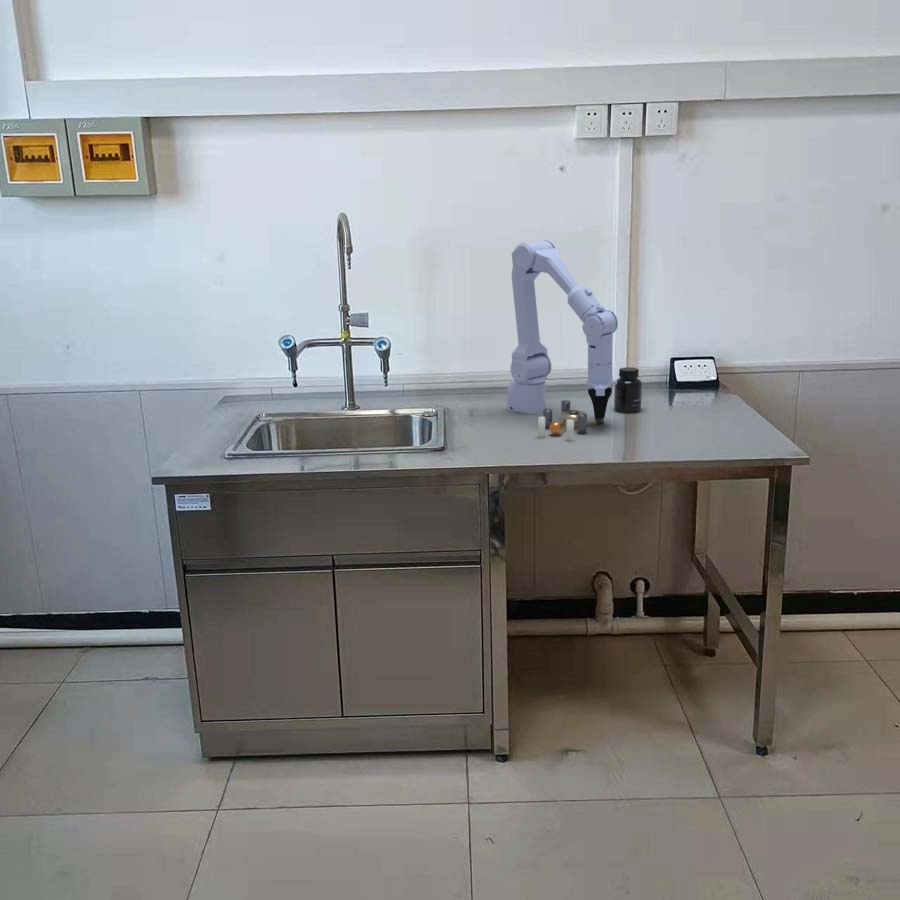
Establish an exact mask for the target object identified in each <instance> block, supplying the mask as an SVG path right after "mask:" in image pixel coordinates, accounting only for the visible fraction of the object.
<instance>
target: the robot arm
mask: <svg viewBox="0 0 900 900" xmlns="http://www.w3.org/2000/svg"><path fill="white" fill-rule="evenodd" d="M511 259H512V270H511V285H512V294H513V304H514V313H515V314H514V315H515V321H516V322H515V323H516V333H517V334H516V335H517V342H518V344H517V347H516V348H515V349H514V350H513V352H512V353H511V363H510V374H511V376H512V378H513V379H512V380H510V382H509V383H508V386H507V390H506V406H507V407H506V408H507V411H510V412H515V413H516V412H517V413H521V414H526V415H528V414H530V415H533V414H541V413H542V414H543V410H544V409H546V381H547V380H548V376H549V375H550V373H551V372H552V368H553V367H552V361H551V359H550V357H549V354H548V348H547V347H546V346H545V345H544V344H542V343H541V338H540V328H539V319H538V308H537V307H538V306H537V296H536V287H535V280H536V278H537V277H538V276H539V275H540V274H541V273H545V274H548V275H549V276H550V277H551V278H552V279H553V281H554V282H556V284H557V285H558V286H559V287H560V289H562V291H563V292H564V293H565V294H566V295H567V301H566V302H567V304H568V305H569V307H570V308H571V309H572V311H574V313H575V314H576V316H577V317H578V318H579V320H580V321H581V323H582V326H581V327H582V332H583V333H584V335H585V337H586V338H585V339H586V341H585V342H586V343H587V381H586V384H587V386H589V387H590V388H588V389H587V393H588V395H589V398H590V400H591V403H592V408H593V413H594V414H593V415H594V419H595V418H596V419H604V420H605V416H606V412H607V406H608V402H609V400H610V397H611V395H612V393H613V389H612V385H613V386H614V385H615V384H617V379H613V336H614V335H613V334H614V333H615V332H616V331H617V329H618V327H619V326H618V325H619V323H618V318H617V315H616V314H615V312H614V311H613V310H611V309H606V308H605V307H604V306H603V305H601V304H600V302H599V300H598V299H597V298H596V297H595V296H594V295H593V291H592V290H591V288H588V287H586V286H580V285H579V283H578V282H577V281H576V279H575V277H574V276H573V274H572V273H571V271H570V270H569V268H568V267H567V266H566V264H565V263H564V261H563V259H562V258H561V252H560V250H559V249H558V248H557V247H556V245H555V243H554V242H552V241H551V240H548V239H545V240H543V241H542V240H541V241H533V242H522V243H519V244H518V245H517V246H515V248H514V249H513V251H512V252H511Z"/></svg>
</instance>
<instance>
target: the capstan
mask: <svg viewBox="0 0 900 900" xmlns="http://www.w3.org/2000/svg"><path fill="white" fill-rule="evenodd" d="M560 409H561V410H560V411H561V414H560V419H561V420H560V421H561V422H559V421H553V409H552V408H545V409H544V410H543V412H542V416H543V417H545V430H549V432H550V433H551V434H552V435H553V436H559V435H561V434H563V433H564V432H567V420H570V419H571V420H574V430H575V431H576V433H577V434H578V435H586V434H588V431H587V429H588V426H591V425H594V426H595V425H597V426H599V425H601V426H602V425H604V424H605V418H604V419H596V418H595V417H594V419H591V420H588V415H587V412H586V411H583V410H578V409H571V400H568V399H566V400H565V399H564V400H561V407H560Z"/></svg>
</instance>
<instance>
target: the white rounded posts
mask: <svg viewBox="0 0 900 900" xmlns="http://www.w3.org/2000/svg"><path fill="white" fill-rule="evenodd" d="M537 421H538V422H537V424H538V426H537V427H538V429H537V431H538V433H537V434H538V436H537V437H538V438H540V439H543V438H546V429H545V417H543V415H542V416H538V420H537ZM574 433H575V429H574V420H571V419H570V420H567V431H566V442H574V440H575V439H574V438H575V437H574Z"/></svg>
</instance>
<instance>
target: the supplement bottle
mask: <svg viewBox="0 0 900 900" xmlns="http://www.w3.org/2000/svg"><path fill="white" fill-rule="evenodd" d="M639 371H640V370H639V368H638V367H621V368H619V370H618V377H619V378H617V379H616V380H617V384H614V398H613V399H614V401H613V411H614V412H616V413H620V414H629V415H631V414H637V413H640V412H641V411H642V397H643V396H642V394H643V393H642V392H643V382H642V381H641V380H640V378H638V377H639V375H640V374H639V373H640V372H639Z"/></svg>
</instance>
